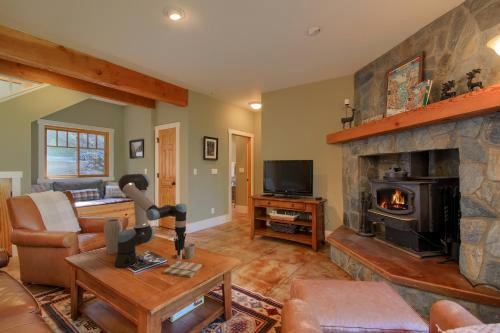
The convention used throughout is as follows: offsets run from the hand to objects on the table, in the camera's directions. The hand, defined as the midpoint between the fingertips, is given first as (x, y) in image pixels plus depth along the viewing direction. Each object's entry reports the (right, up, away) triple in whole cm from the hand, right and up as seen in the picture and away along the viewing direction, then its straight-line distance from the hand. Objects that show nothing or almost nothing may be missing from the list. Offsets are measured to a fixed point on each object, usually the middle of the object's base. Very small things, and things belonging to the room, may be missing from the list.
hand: (179, 259), depth 167 cm
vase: (-61, -4, +24) cm, 66 cm away
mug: (+1, -6, +16) cm, 17 cm away
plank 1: (0, -5, -1) cm, 5 cm away
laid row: (+4, -6, -6) cm, 9 cm away
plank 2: (+10, -5, -4) cm, 12 cm away
